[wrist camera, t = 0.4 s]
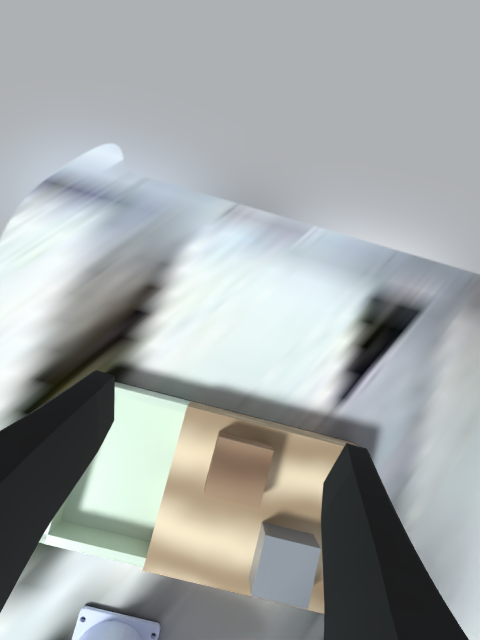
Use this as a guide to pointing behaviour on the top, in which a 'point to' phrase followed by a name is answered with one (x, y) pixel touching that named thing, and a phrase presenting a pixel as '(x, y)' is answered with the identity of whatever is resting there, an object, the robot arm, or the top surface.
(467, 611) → the top surface
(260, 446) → the walnut tile
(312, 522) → the oak bench
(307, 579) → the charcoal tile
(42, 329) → the top surface
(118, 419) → the bin
